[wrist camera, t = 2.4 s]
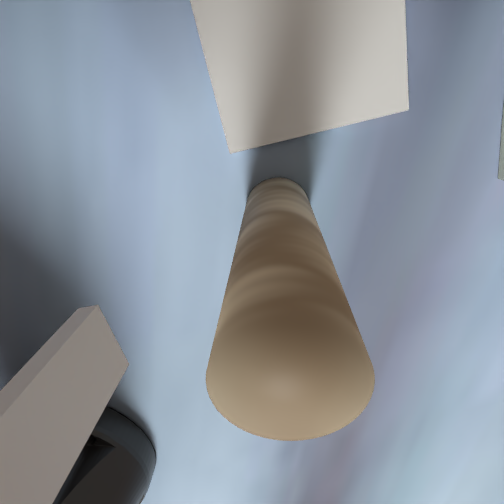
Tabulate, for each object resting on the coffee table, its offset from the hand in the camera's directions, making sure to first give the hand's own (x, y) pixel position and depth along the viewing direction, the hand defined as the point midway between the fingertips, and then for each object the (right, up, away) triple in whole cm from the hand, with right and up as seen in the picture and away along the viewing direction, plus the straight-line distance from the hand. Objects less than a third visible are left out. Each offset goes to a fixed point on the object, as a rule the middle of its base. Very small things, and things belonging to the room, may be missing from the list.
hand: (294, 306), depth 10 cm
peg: (0, +4, +10) cm, 11 cm away
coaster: (+1, +13, +6) cm, 14 cm away
